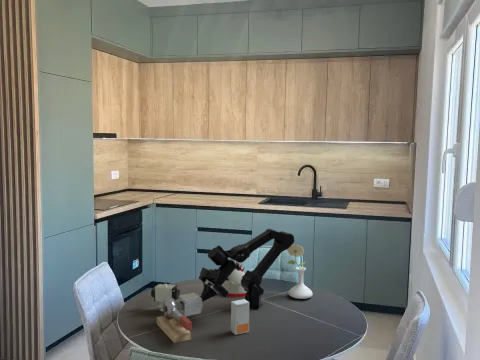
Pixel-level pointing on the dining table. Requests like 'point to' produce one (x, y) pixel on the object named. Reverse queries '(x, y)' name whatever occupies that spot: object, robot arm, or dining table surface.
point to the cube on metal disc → (191, 304)
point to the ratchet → (176, 312)
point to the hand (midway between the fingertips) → (200, 301)
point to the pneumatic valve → (164, 293)
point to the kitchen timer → (235, 284)
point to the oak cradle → (173, 329)
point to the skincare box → (240, 316)
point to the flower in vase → (299, 289)
